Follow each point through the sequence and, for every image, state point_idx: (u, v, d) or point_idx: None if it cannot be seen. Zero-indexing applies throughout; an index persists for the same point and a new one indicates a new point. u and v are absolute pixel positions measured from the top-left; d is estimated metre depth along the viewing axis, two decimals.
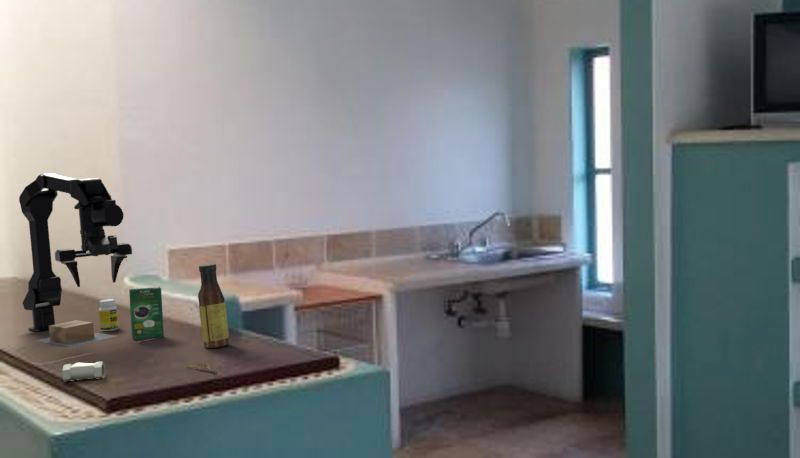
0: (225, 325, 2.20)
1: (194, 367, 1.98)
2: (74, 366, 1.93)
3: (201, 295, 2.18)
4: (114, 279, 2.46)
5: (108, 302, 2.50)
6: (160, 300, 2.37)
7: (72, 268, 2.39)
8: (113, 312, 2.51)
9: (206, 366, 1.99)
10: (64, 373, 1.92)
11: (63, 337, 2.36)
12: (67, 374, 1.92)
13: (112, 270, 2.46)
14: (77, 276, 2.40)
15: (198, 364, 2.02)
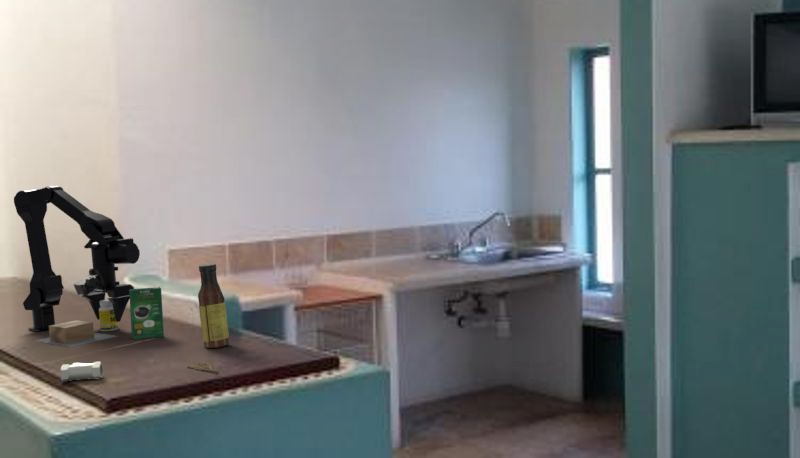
0: (225, 325, 2.20)
1: (195, 367, 1.98)
2: (72, 366, 1.93)
3: (201, 295, 2.18)
4: (116, 319, 2.49)
5: (108, 302, 2.50)
6: (160, 300, 2.37)
7: (89, 301, 2.55)
8: (113, 312, 2.51)
9: (207, 366, 1.99)
10: (62, 373, 1.92)
11: (63, 337, 2.36)
12: (65, 374, 1.92)
13: None
14: (94, 309, 2.54)
15: (199, 364, 2.02)
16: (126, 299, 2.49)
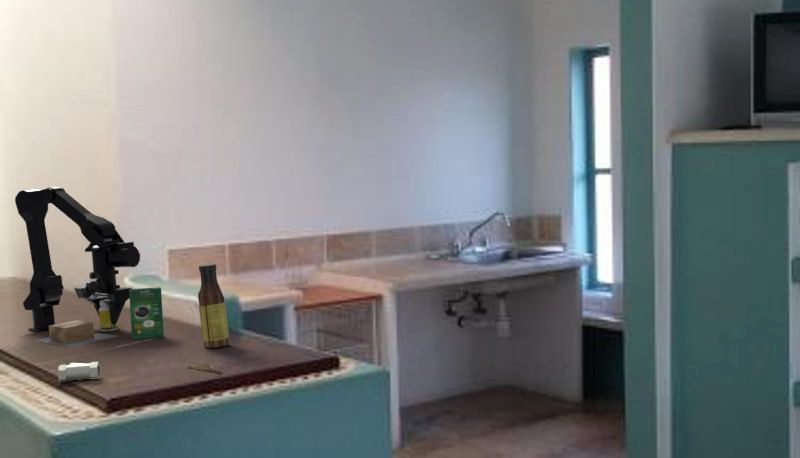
0: (225, 325, 2.20)
1: (196, 367, 1.98)
2: (70, 366, 1.93)
3: (201, 295, 2.18)
4: (112, 321, 2.50)
5: None
6: (160, 300, 2.37)
7: (94, 305, 2.53)
8: None
9: (208, 366, 1.99)
10: (60, 373, 1.92)
11: (63, 337, 2.36)
12: (63, 374, 1.92)
13: None
14: (98, 313, 2.53)
15: (199, 364, 2.02)
16: (122, 302, 2.50)
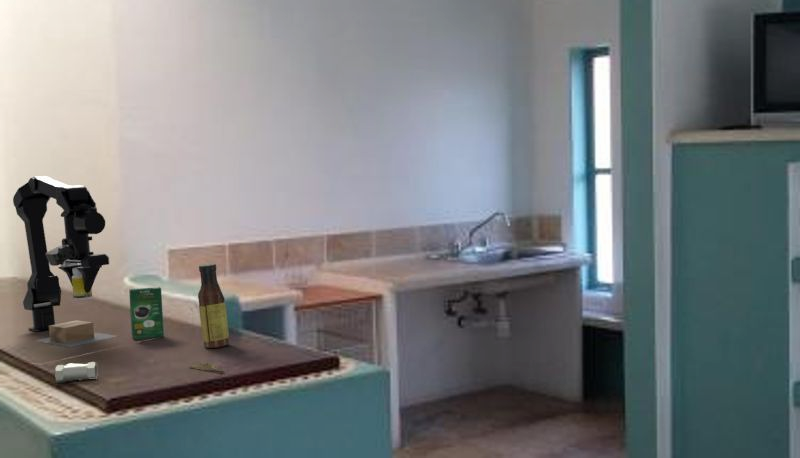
0: (225, 325, 2.20)
1: (198, 367, 1.98)
2: (67, 367, 1.93)
3: (201, 295, 2.18)
4: (85, 289, 2.42)
5: None
6: (160, 300, 2.37)
7: (66, 273, 2.45)
8: None
9: (209, 366, 1.99)
10: (57, 374, 1.92)
11: (63, 337, 2.36)
12: (60, 375, 1.92)
13: None
14: (71, 281, 2.44)
15: (200, 364, 2.02)
16: (96, 269, 2.42)
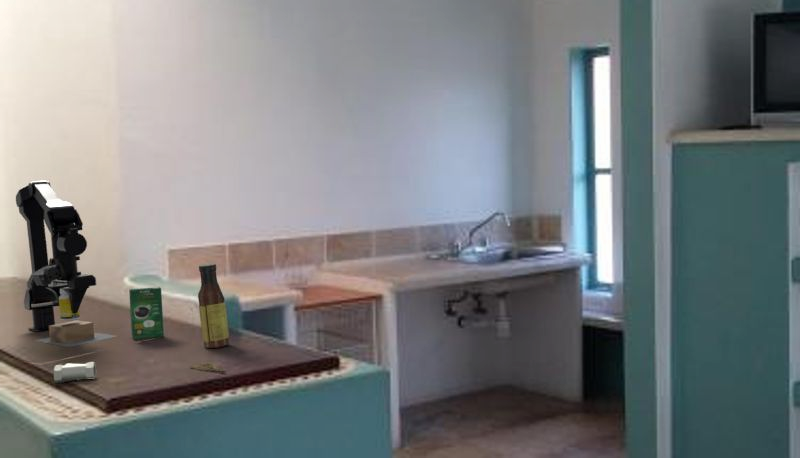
0: (225, 325, 2.20)
1: (199, 367, 1.97)
2: (65, 367, 1.93)
3: (201, 295, 2.18)
4: (72, 310, 2.38)
5: None
6: (160, 300, 2.37)
7: (54, 293, 2.41)
8: None
9: (210, 366, 1.99)
10: (55, 374, 1.92)
11: (63, 337, 2.36)
12: (58, 375, 1.92)
13: None
14: None
15: (201, 364, 2.01)
16: (83, 290, 2.38)
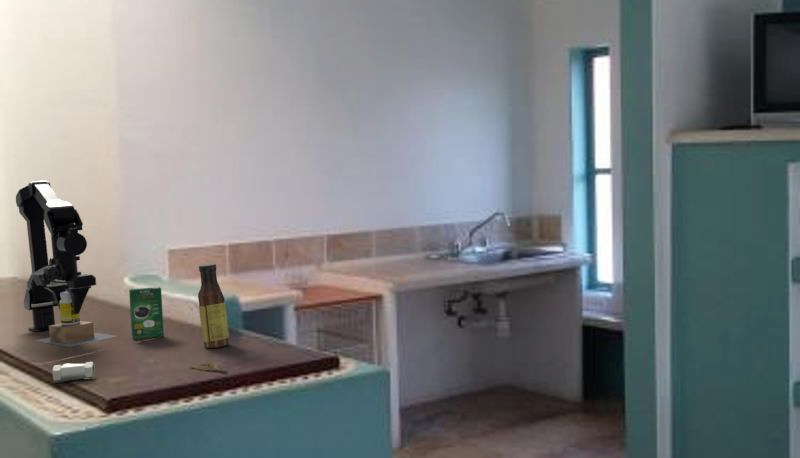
0: (225, 325, 2.20)
1: (200, 367, 1.97)
2: (64, 367, 1.93)
3: (201, 295, 2.18)
4: (74, 310, 2.37)
5: (69, 294, 2.38)
6: (160, 300, 2.37)
7: (52, 293, 2.42)
8: None
9: (211, 366, 1.98)
10: (54, 374, 1.92)
11: (63, 337, 2.36)
12: (57, 375, 1.92)
13: None
14: (57, 301, 2.41)
15: (201, 364, 2.01)
16: (85, 290, 2.38)
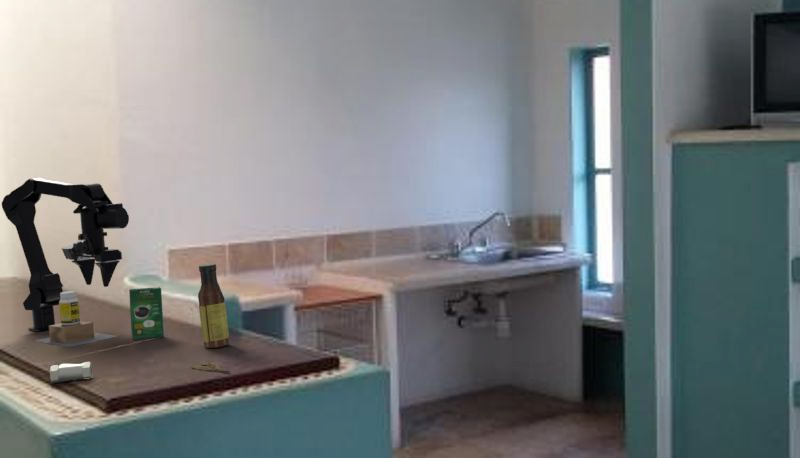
0: (225, 325, 2.20)
1: (201, 368, 1.97)
2: (61, 367, 1.93)
3: (201, 295, 2.18)
4: (103, 283, 2.49)
5: (69, 294, 2.38)
6: (160, 300, 2.37)
7: (79, 266, 2.56)
8: (74, 304, 2.39)
9: (213, 366, 1.98)
10: (52, 374, 1.92)
11: (63, 337, 2.36)
12: (55, 375, 1.92)
13: None
14: (83, 274, 2.55)
15: None
16: (114, 264, 2.49)
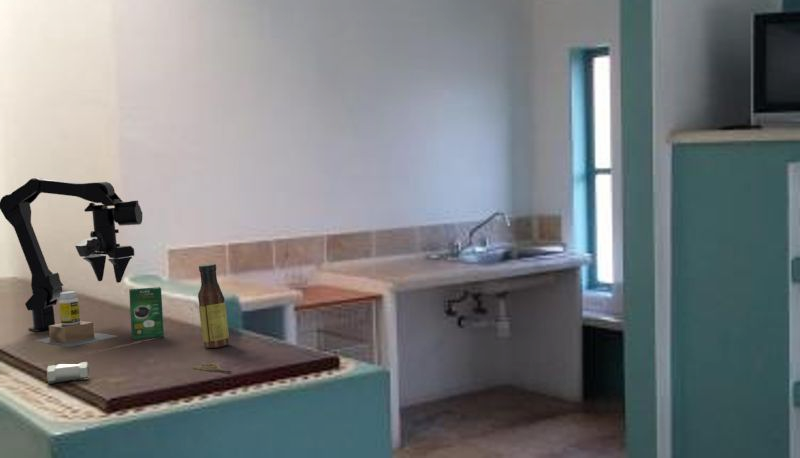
0: (225, 325, 2.20)
1: (202, 368, 1.97)
2: (58, 367, 1.93)
3: (201, 295, 2.18)
4: (116, 279, 2.56)
5: (69, 294, 2.38)
6: (160, 300, 2.37)
7: (90, 263, 2.61)
8: (74, 304, 2.39)
9: (214, 366, 1.98)
10: (49, 375, 1.92)
11: (63, 337, 2.36)
12: (52, 375, 1.92)
13: None
14: (95, 271, 2.61)
15: None
16: (126, 260, 2.56)
